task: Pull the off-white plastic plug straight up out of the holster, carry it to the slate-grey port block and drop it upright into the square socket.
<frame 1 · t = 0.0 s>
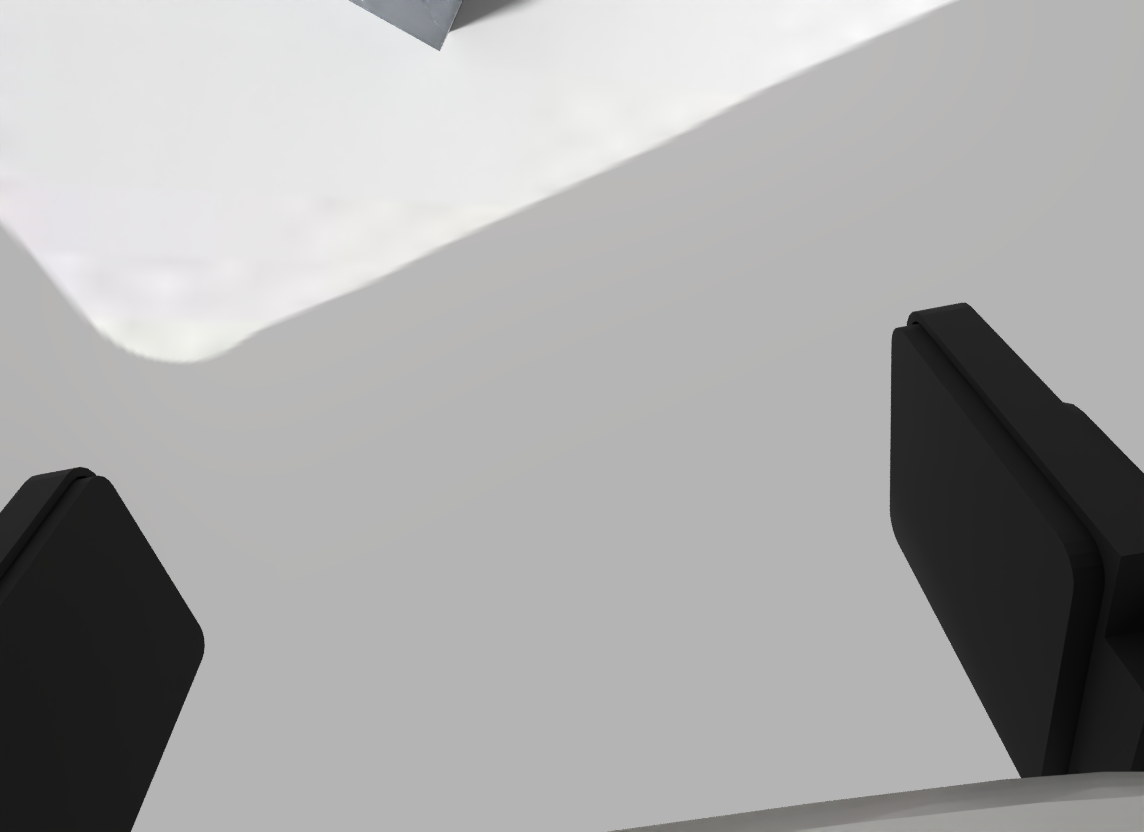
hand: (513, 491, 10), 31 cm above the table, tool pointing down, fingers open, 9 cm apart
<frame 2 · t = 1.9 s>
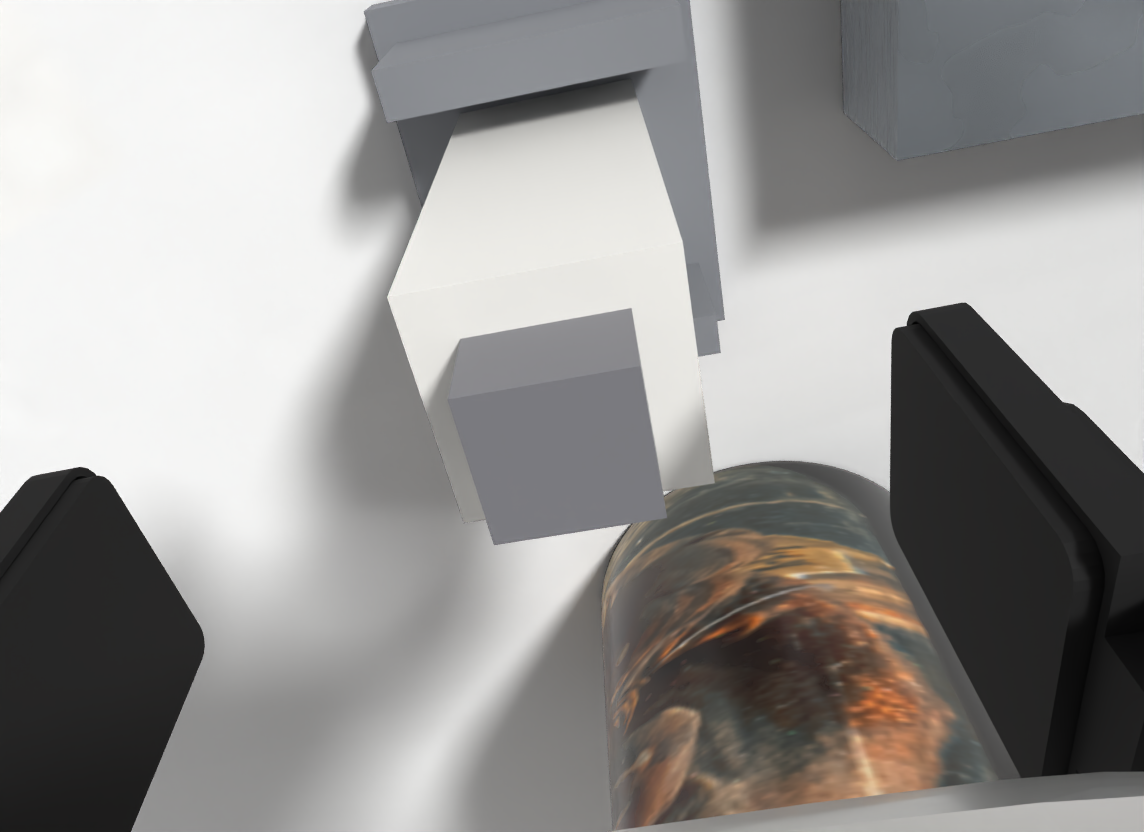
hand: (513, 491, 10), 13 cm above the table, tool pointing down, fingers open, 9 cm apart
plug: (562, 180, 21), point 1 cm above the table, touching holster
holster: (562, 168, 22), on the table
jar: (765, 593, 30), on the table
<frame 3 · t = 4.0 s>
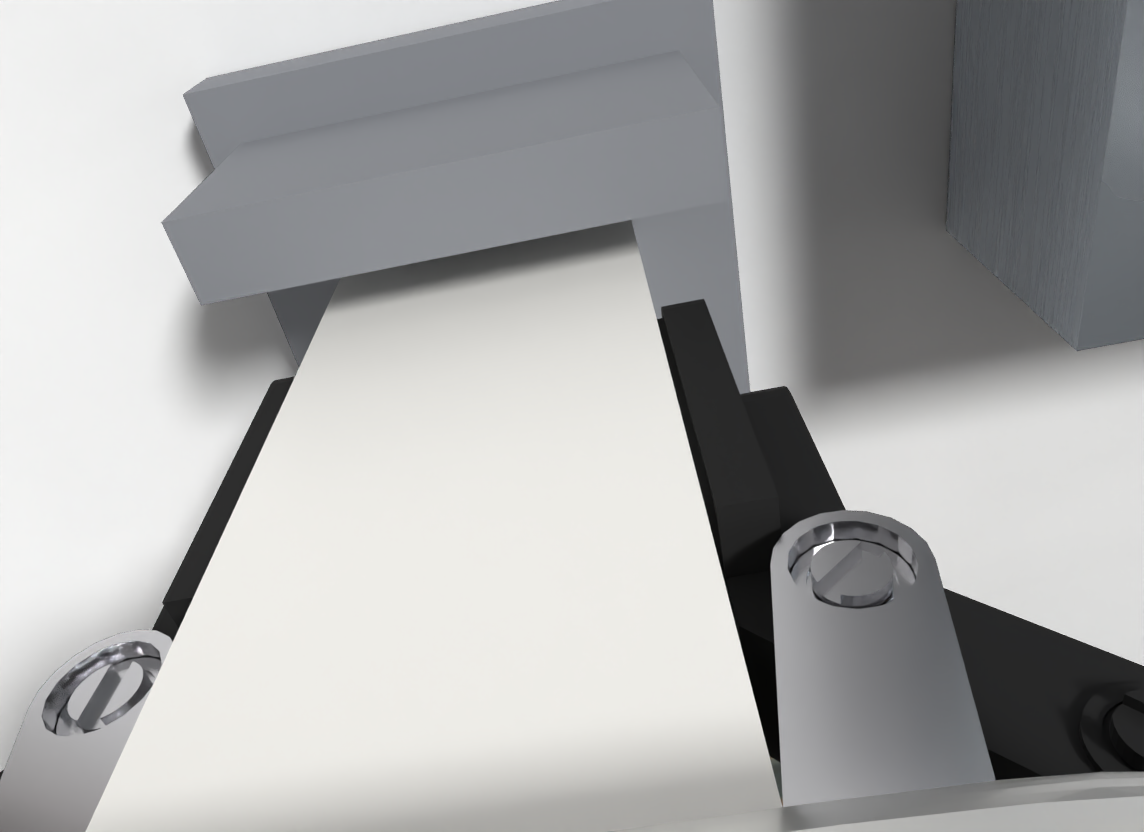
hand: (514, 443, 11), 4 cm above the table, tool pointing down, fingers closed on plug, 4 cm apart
plug: (518, 341, 14), point 1 cm above the table, touching gripper, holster
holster: (519, 312, 14), on the table
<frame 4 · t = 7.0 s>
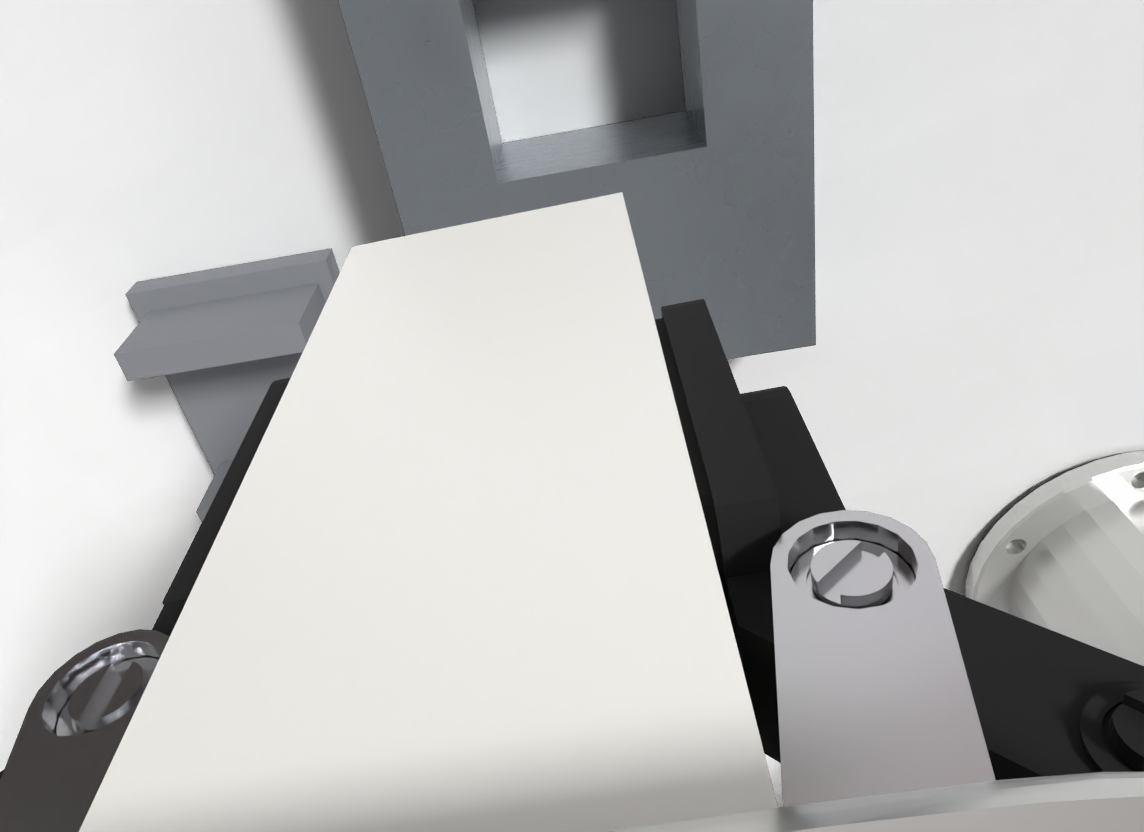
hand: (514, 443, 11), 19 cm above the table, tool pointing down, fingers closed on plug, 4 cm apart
plug: (516, 339, 14), point 16 cm above the table, touching gripper
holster: (278, 375, 32), on the table
port block: (578, 27, 26), on the table
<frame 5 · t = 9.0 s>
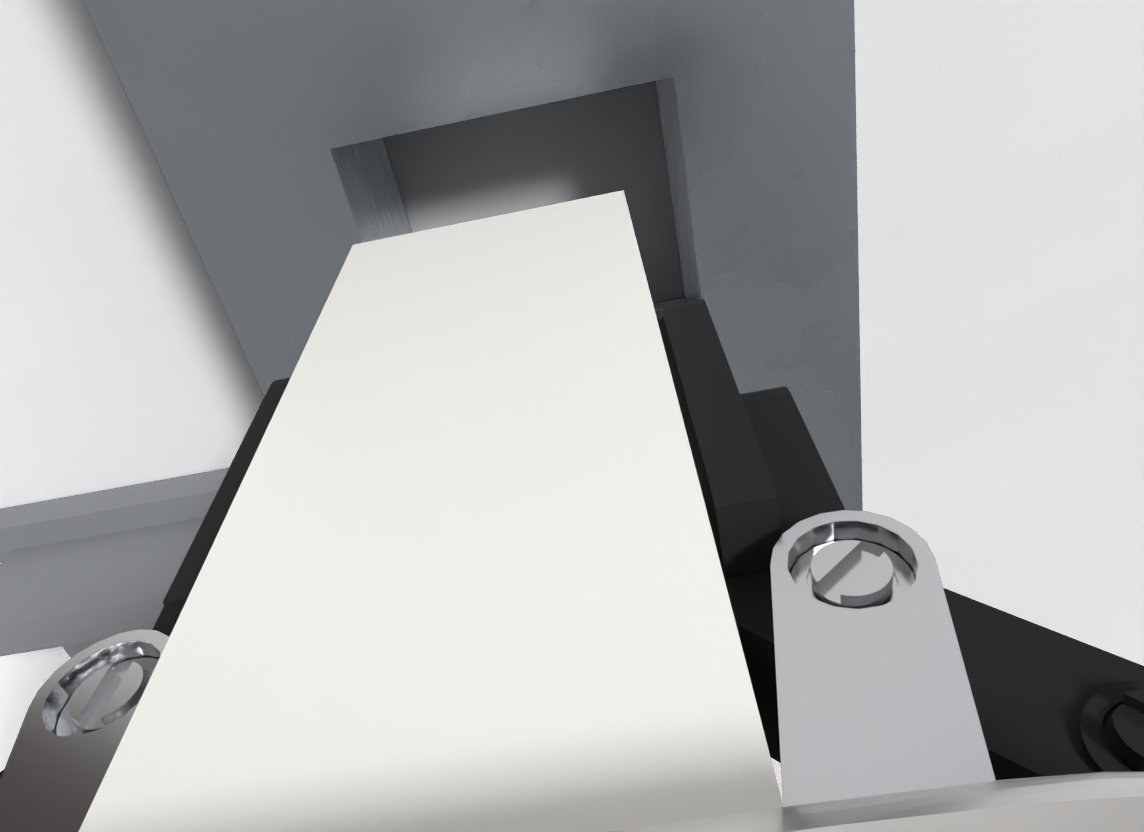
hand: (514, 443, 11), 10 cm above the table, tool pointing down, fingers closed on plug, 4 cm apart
plug: (517, 338, 14), point 7 cm above the table, touching gripper
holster: (187, 604, 26), on the table
port block: (538, 203, 20), on the table
when the fingers open (5 cm above the table, at t = 10.6 s): plug drops 2 cm, resting in port block.
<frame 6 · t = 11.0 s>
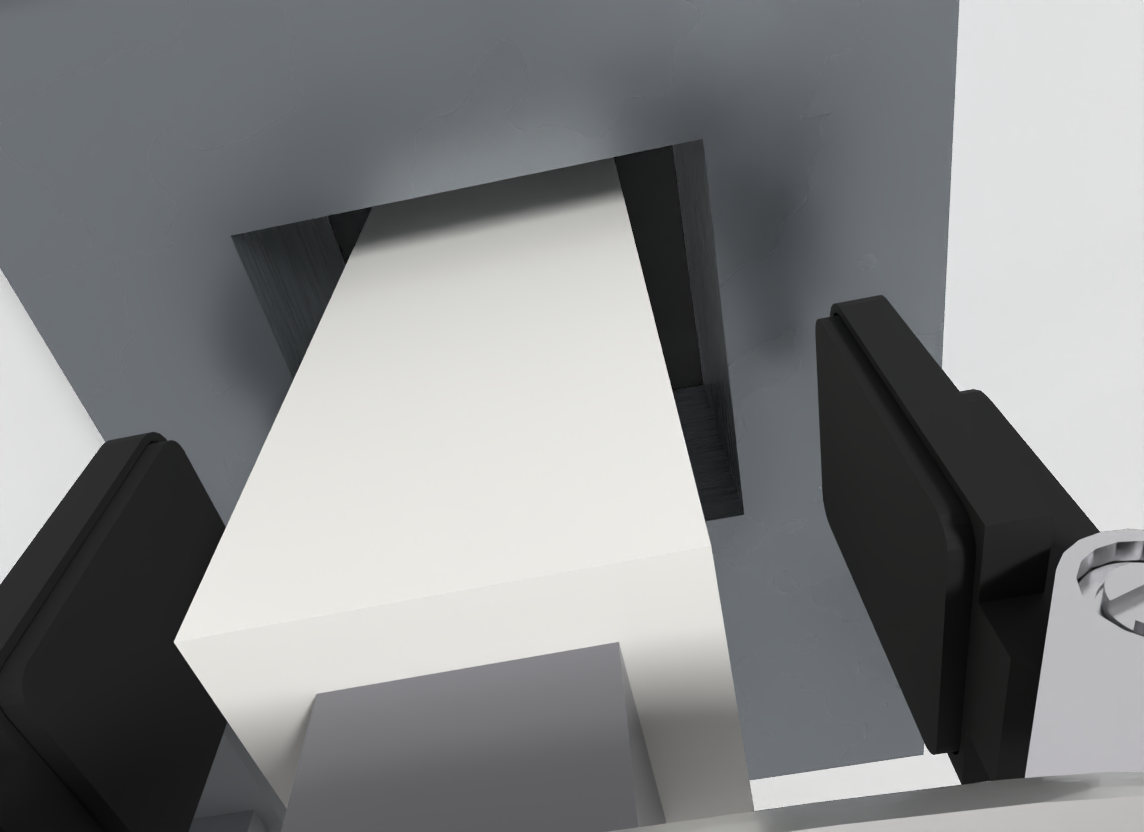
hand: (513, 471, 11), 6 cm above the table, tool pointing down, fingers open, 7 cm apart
plug: (521, 274, 16), resting in port block
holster: (110, 728, 22), on the table
port block: (520, 275, 16), on the table
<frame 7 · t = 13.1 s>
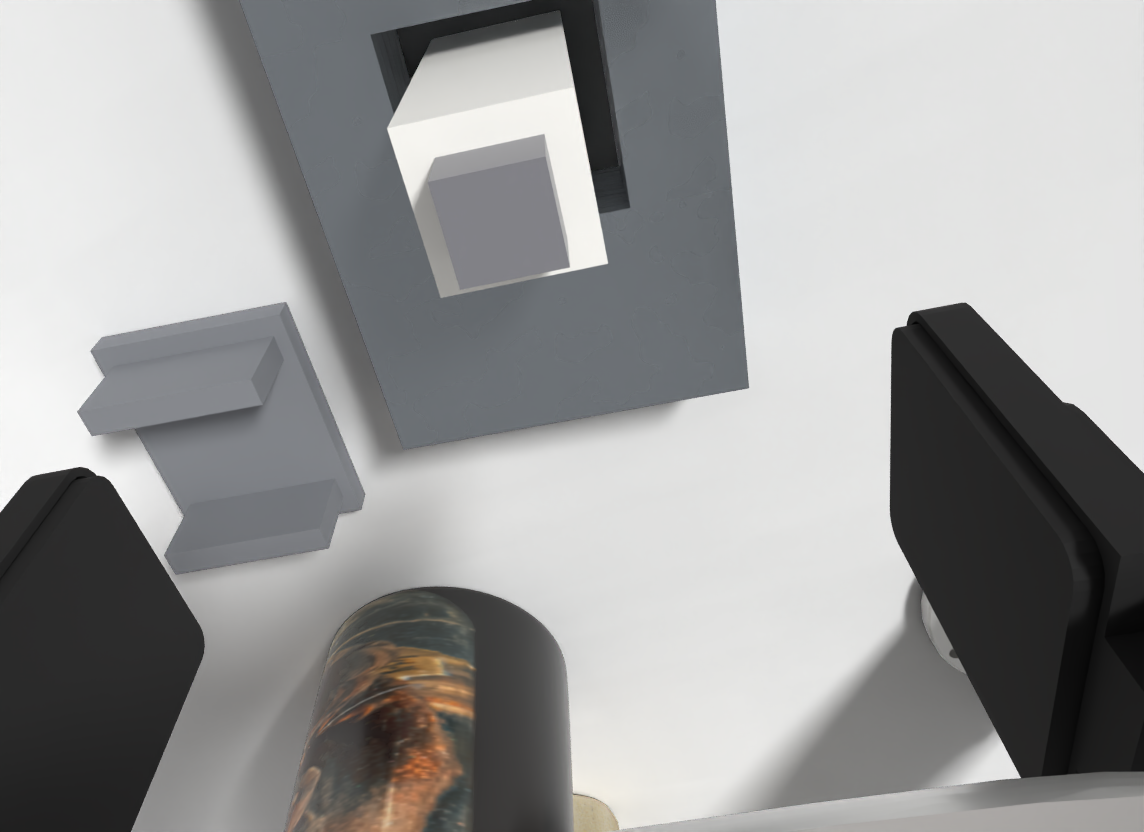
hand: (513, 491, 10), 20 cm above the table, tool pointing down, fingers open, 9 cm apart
plug: (511, 91, 27), resting in port block
flower pot: (563, 820, 50), on the table
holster: (242, 421, 34), on the table
port block: (510, 92, 27), on the table
jar: (449, 669, 42), on the table
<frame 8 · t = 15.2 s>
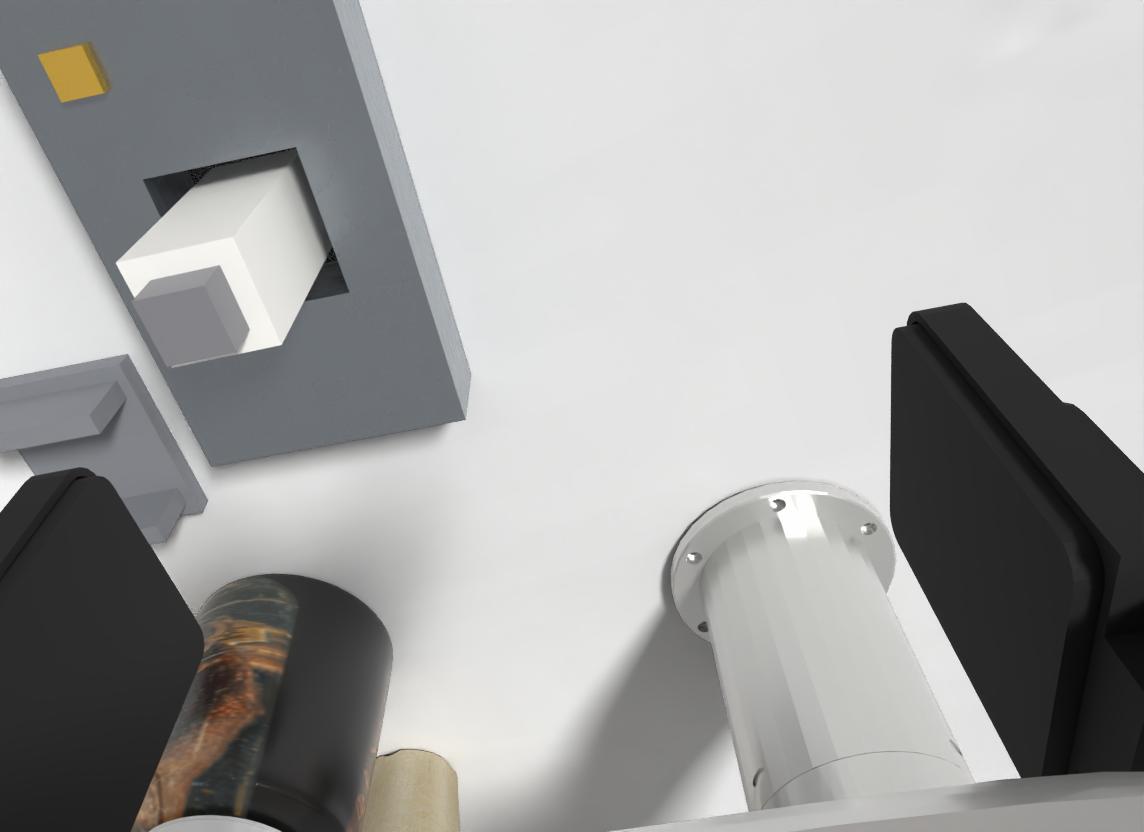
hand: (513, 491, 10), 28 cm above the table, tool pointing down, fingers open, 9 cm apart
plug: (276, 203, 37), resting in port block
flower pot: (412, 773, 59), on the table
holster: (104, 443, 44), on the table
port block: (276, 203, 37), on the table
jar: (297, 642, 52), on the table
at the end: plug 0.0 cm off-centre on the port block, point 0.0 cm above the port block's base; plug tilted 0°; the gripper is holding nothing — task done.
